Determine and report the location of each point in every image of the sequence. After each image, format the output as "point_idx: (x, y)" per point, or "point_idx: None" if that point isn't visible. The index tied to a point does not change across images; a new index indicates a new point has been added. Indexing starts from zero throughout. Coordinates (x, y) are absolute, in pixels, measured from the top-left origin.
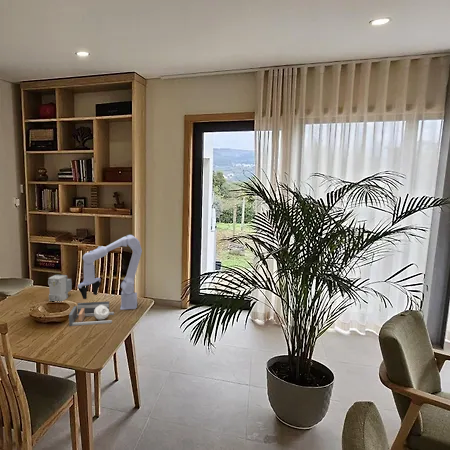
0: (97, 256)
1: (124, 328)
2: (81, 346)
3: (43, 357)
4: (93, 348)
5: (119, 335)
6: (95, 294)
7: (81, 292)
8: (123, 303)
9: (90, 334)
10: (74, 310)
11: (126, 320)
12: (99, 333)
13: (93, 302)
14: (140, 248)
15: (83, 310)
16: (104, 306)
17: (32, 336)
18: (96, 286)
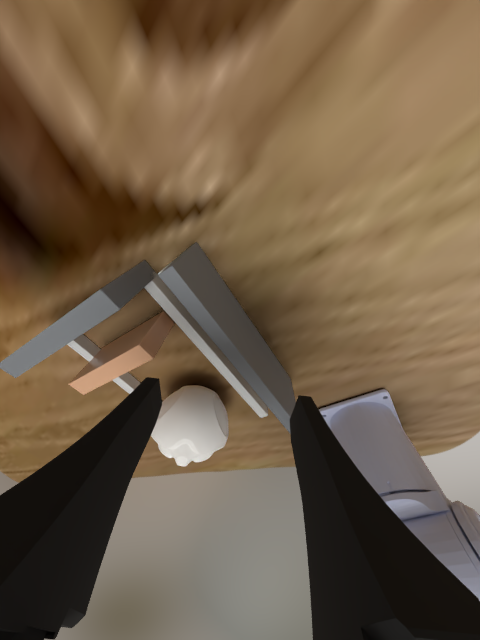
0: None
1: (182, 466)
2: (29, 435)
3: None
4: (52, 457)
5: (142, 471)
6: (291, 418)
7: (80, 453)
8: (340, 443)
9: (87, 421)
10: (61, 347)
11: (232, 454)
12: None
13: (246, 371)
14: None
15: (124, 373)
16: (200, 461)
17: None
18: (314, 560)
